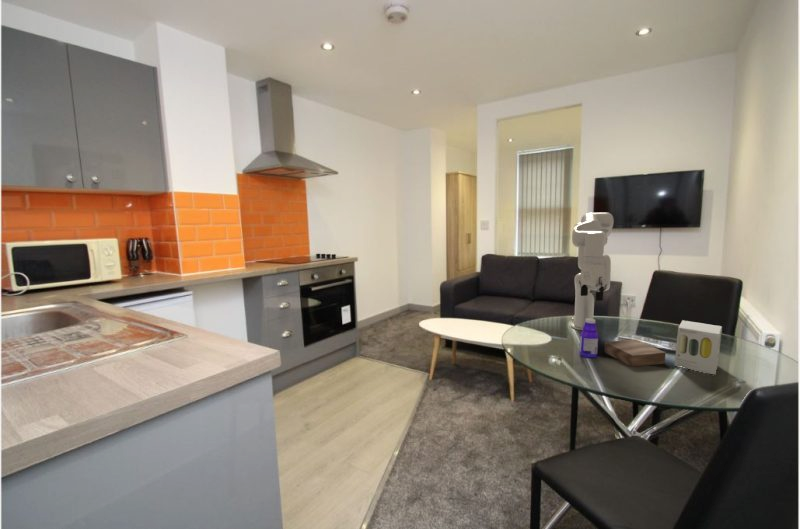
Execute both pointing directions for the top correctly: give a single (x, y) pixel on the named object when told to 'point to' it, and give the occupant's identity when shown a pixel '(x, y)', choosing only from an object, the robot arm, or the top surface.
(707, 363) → the supplement box
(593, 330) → the bottle
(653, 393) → the top surface
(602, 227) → the robot arm
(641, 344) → the plinth
